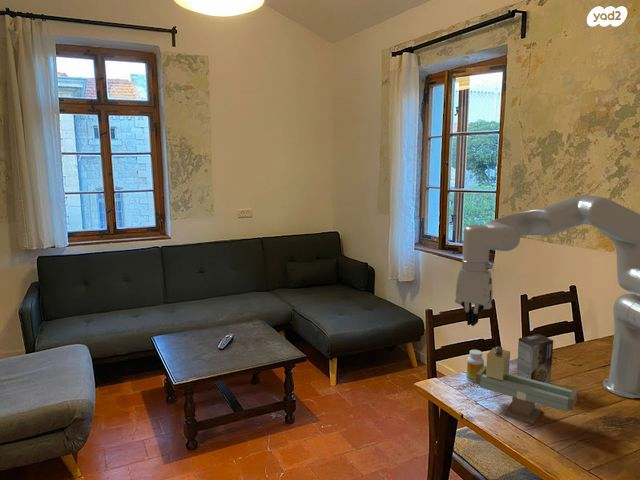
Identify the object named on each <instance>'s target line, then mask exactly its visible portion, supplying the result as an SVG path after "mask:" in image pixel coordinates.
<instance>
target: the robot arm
mask: <svg viewBox="0 0 640 480" xmlns="http://www.w3.org/2000/svg"><path fill="white" fill-rule="evenodd" d="M582 225H589V226H592V227H595V228H596V230H597V231H598V232H599V233H600V234H601V235H602V236H604V237H607V238H608V239H609V240H610V241H611V242H612V243H613V245H614V247H615V253H616V272H617V274H616V275H617V277H616V278H617V283H618V285H619V286H620V288H622V289H623V290H625V291H627V292H629V293H624V294H621V295H620V296H618V297H617V298H616V300H615V302H614V303H613V309H612V311H613V323H614V330H613V331H614V333H613V343H612V351H611V361H610V368H609V377H607V378H604V379H603V381H602V382H603V383H602V385H603V387H604V389H605V390H607V391H609V392H610V393H612V394H614V395H617V396H620V397H622V398H626V399H627V398H628V399H634V398H640V213H638V212H637V211H634V210H633V209H630V208H628V207H625V206H624V205H621V204H620V203H618V202H615V200H614V201H613V200H611V199H609V198H607V197H604V196H603V197H602V196H596V195H590V194H579V195H577V196H573V197H571V198H568V199H565V200H561V201H558V202H556V203H554V204H550V205H548V206H544V207H539V208H536V209H530V210H526V211H519V212H515V213H511V214H507V215H504V216H501V217H498V218H495V219H493V220H490V221H487V223H485V224H484V225H483V224H469V225H465V227H464V229H463V236H462V237H463V238H462V239H463V240H462V258H461V260H462V262H461V268H460V269H459V271H458V275H457V279H456V286H455V299H454V302H455V303H456V304H458V305H460V306H462V308H463V309H464V311H465V312H466V314H465V315H466V317H465V321H466V323H467V324H466V325H467V326H472V327H474V326H476V324H478V323H479V314H480V313H479V312H481V311H482V310H490V309H491V308H492V306H493V305H492V301H493V294H494V293H493V291H494V290H493V276H492V272H491V271H490V270H493V269H494V264H491V263H490V260H489V259H490V250H491V251H499V252H509V251H512V250H514V249H516V248H517V247H518V246H519V244H520V241H521V237H523V236H552V235H555V234H558V233H561V232H562V233H563V232H565V231H568V230H570V229H573V228H576V227H579V226H582ZM472 304H473V305H474V307H473V305H472Z"/></svg>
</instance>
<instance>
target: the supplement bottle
mask: <svg viewBox="0 0 640 480" xmlns="http://www.w3.org/2000/svg"><path fill="white" fill-rule="evenodd" d="M466 358H467V359H466V379H467V380H468V381H470V382H473V383H476V374H477V373H478V372H479V371H480V369H481V368H482V367H483V366H485V365H484V364H485V359H484V358H483V352H482V351H481V350H479V349H471V350H469V356H467V357H466Z"/></svg>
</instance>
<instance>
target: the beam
mask: <svg viewBox="0 0 640 480" xmlns="http://www.w3.org/2000/svg"><path fill="white" fill-rule="evenodd" d="M475 384H476V385H479V388H481V389H484V390H487V391H488V390H489V391H491V392H494V393H498V394H502V395H506V396H508V397H512V398H511V399H512V401H511V402H510V403H509V404H508V405H509V406H508V407H507V408H506V410H505V411H504V416H506V417H509V418H512V419H515V420H519V421H521V422H525V423H528V424H531V425H535V422H536V420H537V419H538V417H539V415H540V413H541V412H542V407H541V406H544V407H547V408H551V409H555V410H558V411H560V412H561V411H562V412H566V413H568V411H571V412H572V411H574V408H575V405H576V403H577V401H578V392H579V389H577V388H572V389H570V388H566V387H562V386H558V385H554V384H551V383H550V384H547V383H543V382H540V381H536V380H532V379H528V378H524V377H520V376H516V374H512V373H510V372H509V373H508V375H507V376H506V377H505V380H503V381H502V380H499V379H495V378H491V377H488V376H486V365H484V366H483V367H482V368H481V369H480V371H479V372H478V373H477V374H476V382H475ZM536 404H537V405H540V406H537V405H536Z"/></svg>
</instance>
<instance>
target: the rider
mask: <svg viewBox="0 0 640 480" xmlns="http://www.w3.org/2000/svg"><path fill="white" fill-rule="evenodd" d="M510 361H511V351H510V350H505V349H503V346H499V345H498V346H495V347H492V348H491V349H490V351H488V352H487V353H486V365H485V366H486V376H488V377H491V378H495V379H499V380H502V381H503V380H505V377H506V376H507V375H508V373H509V374H510V363H511V362H510Z"/></svg>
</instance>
